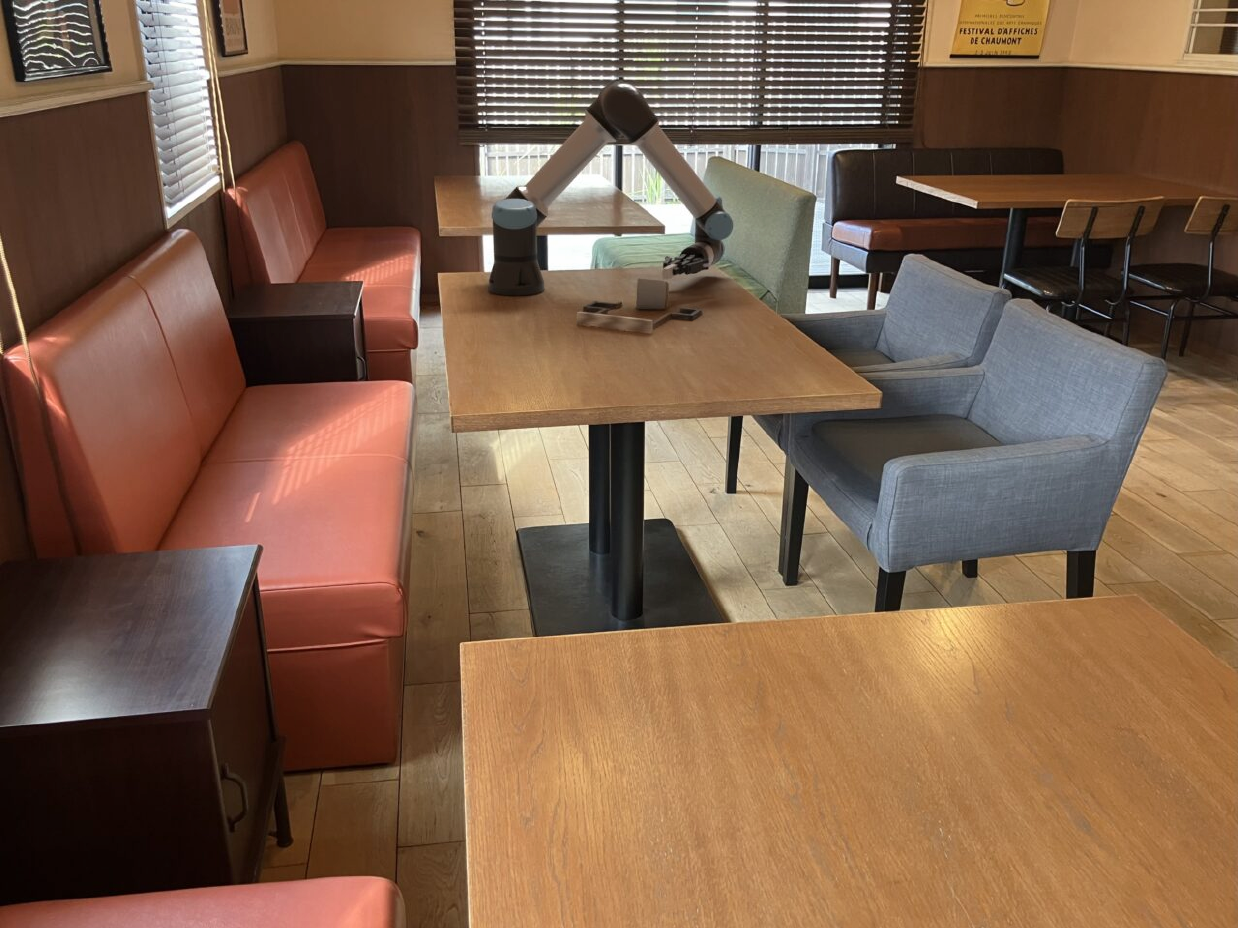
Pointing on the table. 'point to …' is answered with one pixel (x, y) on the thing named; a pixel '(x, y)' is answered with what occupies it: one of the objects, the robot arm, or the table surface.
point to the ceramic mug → (652, 294)
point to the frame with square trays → (627, 318)
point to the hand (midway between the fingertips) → (665, 274)
